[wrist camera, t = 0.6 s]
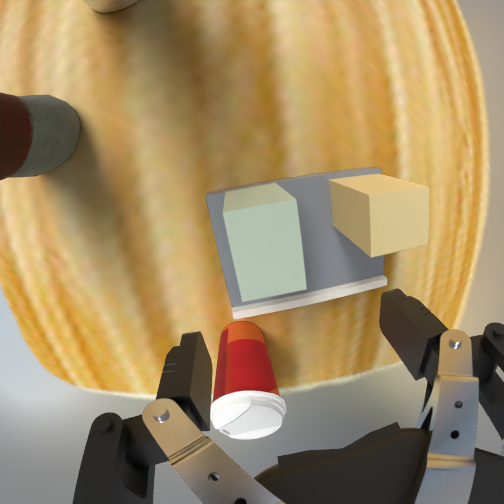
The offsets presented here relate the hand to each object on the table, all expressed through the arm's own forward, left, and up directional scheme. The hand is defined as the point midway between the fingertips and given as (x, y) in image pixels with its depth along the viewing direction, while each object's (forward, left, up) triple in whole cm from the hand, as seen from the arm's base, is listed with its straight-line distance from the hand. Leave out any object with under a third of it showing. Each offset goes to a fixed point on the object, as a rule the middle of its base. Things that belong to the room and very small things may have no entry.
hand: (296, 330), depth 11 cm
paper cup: (+16, -5, -20) cm, 26 cm away
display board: (+3, +5, -20) cm, 21 cm away
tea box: (0, 0, -18) cm, 18 cm away
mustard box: (-1, +11, -18) cm, 21 cm away
